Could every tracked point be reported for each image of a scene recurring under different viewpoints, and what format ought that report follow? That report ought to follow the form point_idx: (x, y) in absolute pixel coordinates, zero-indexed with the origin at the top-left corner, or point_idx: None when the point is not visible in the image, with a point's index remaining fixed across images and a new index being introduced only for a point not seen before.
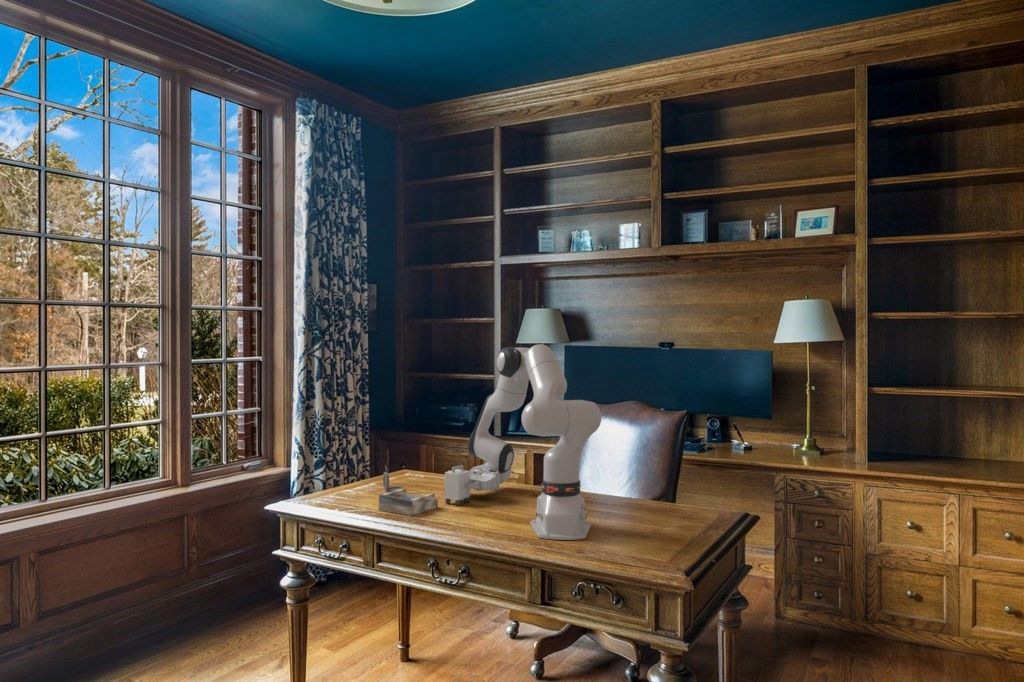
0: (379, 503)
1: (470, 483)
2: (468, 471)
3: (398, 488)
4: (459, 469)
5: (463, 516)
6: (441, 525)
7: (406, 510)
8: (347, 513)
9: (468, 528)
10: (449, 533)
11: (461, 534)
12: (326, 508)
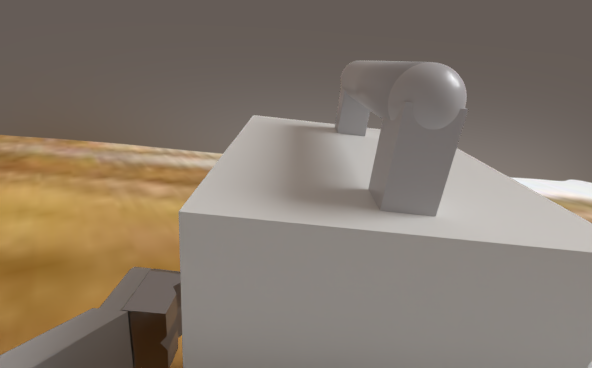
0: None
1: (137, 289)
2: (211, 182)
3: None
4: (558, 246)
5: (132, 235)
6: (182, 176)
7: None
8: None
9: (85, 174)
10: (136, 154)
11: (101, 154)
12: (543, 195)
